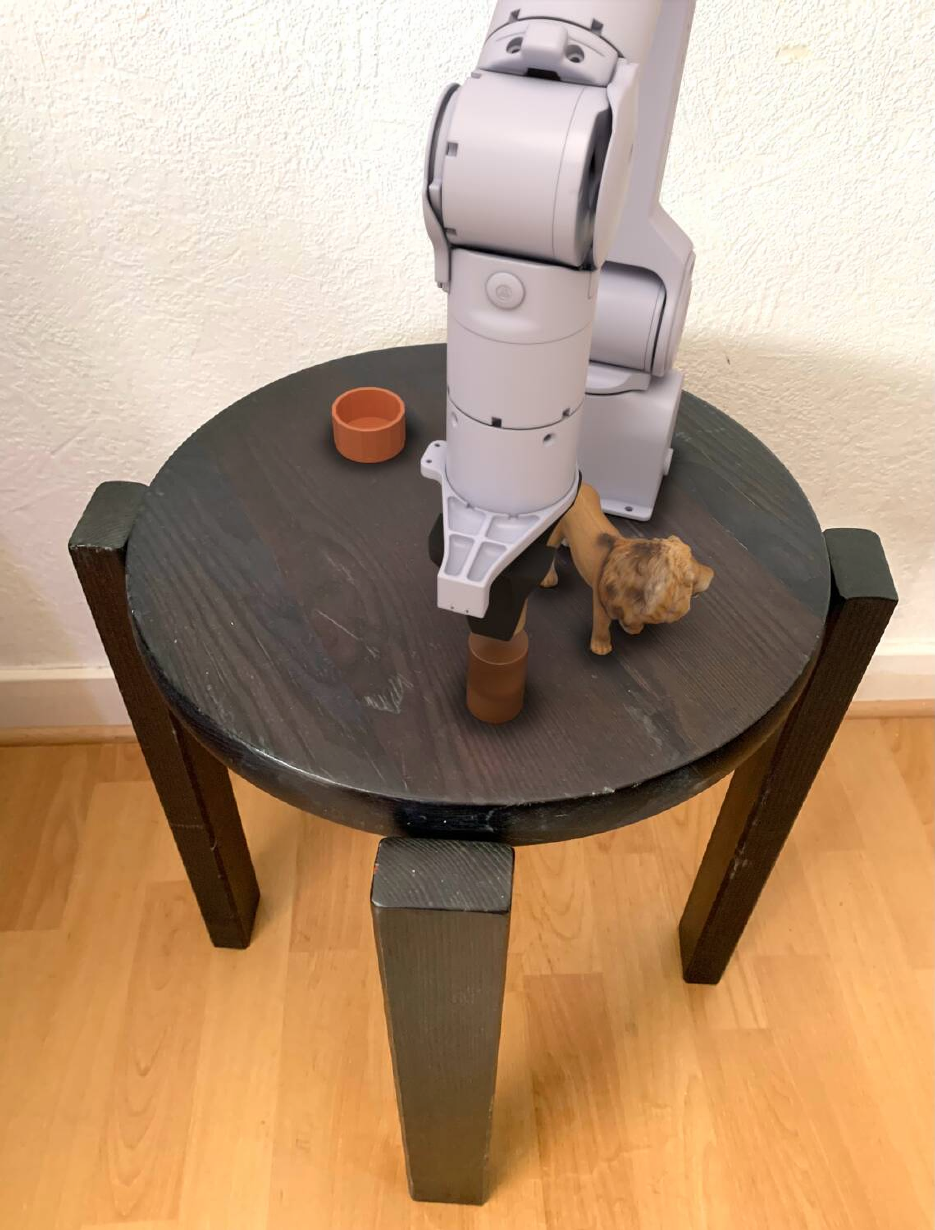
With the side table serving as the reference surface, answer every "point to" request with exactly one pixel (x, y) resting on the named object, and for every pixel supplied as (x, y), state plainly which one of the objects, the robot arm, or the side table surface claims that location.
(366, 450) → the terracotta crock
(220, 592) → the side table surface
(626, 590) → the lion figurine
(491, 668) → the brown cylinder
